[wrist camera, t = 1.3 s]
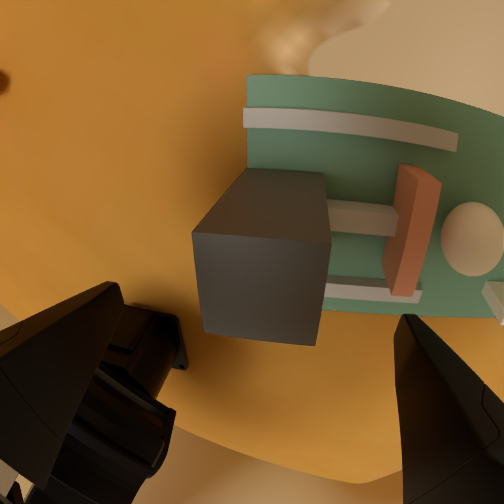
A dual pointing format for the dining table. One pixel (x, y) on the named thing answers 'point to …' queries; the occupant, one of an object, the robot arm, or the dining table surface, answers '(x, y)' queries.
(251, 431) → the dining table surface
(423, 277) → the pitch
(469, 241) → the ball
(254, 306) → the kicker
